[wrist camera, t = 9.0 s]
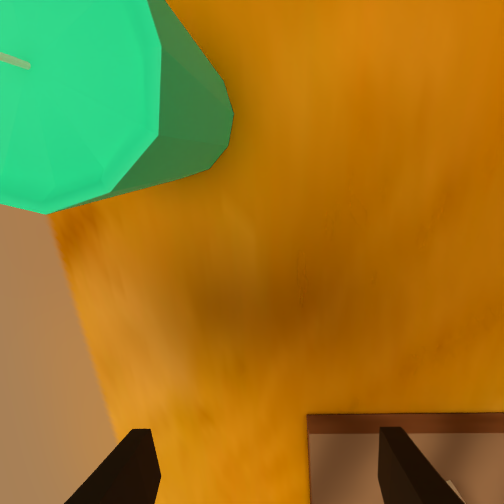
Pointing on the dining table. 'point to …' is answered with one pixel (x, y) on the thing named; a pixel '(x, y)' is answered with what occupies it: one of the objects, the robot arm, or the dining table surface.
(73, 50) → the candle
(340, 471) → the walnut board
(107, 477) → the robot arm
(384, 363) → the dining table surface
